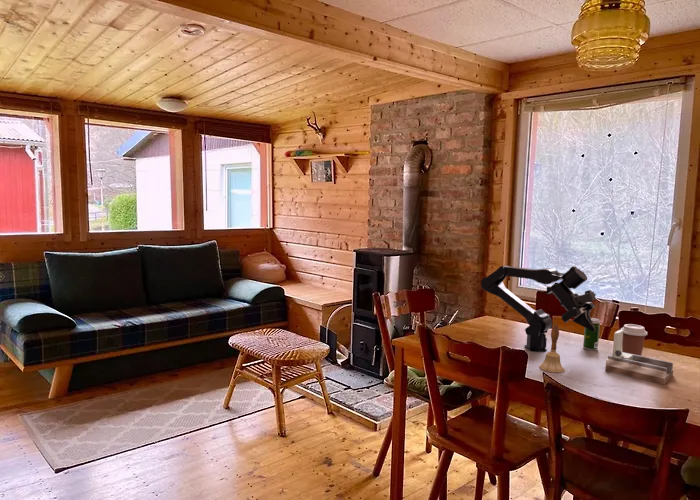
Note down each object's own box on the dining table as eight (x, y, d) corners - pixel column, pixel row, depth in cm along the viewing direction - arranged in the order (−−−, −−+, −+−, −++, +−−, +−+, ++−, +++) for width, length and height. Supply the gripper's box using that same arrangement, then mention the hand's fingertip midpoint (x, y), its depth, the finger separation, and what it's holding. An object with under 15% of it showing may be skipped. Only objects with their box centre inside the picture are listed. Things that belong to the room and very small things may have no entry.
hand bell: (563, 366, 184) (567, 322, 182) (565, 374, 176) (568, 328, 174) (539, 363, 187) (541, 320, 185) (539, 371, 179) (542, 326, 177)
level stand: (605, 370, 181) (606, 356, 180) (616, 362, 190) (617, 349, 189) (663, 384, 169) (665, 369, 168) (672, 375, 177) (674, 361, 177)
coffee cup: (616, 352, 203) (618, 322, 202) (642, 355, 200) (645, 324, 199) (620, 359, 194) (622, 327, 193) (647, 362, 191) (650, 330, 190)
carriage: (608, 365, 180) (611, 334, 179) (617, 359, 186) (619, 329, 185) (624, 368, 176) (626, 337, 175) (632, 363, 183) (634, 332, 182)
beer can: (600, 349, 207) (602, 319, 205) (593, 351, 203) (596, 321, 202) (587, 345, 211) (589, 317, 209) (580, 348, 207) (582, 318, 206)
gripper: (572, 286, 184) (603, 322, 177) (591, 280, 197) (620, 314, 191) (549, 304, 190) (578, 340, 183) (569, 298, 203) (596, 331, 197)
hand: (594, 330), depth 188 cm, fingers closed
